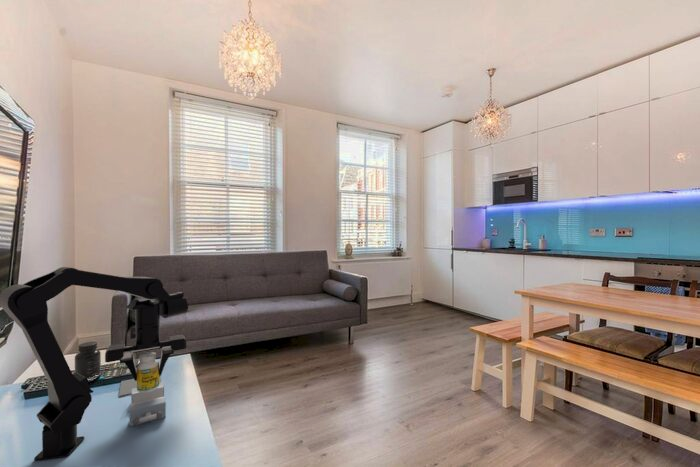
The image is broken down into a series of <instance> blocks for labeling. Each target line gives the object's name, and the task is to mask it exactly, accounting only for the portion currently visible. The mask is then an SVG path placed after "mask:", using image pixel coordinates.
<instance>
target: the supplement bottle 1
mask: <svg viewBox="0 0 700 467" xmlns="http://www.w3.org/2000/svg"><path fill="white" fill-rule="evenodd" d="M97 343H98V342H96V341H88V342H83V343H80V344H78V350H77V351H78V353H77V354H75V355H74V373H76V372H77V373H79V374H81V375H82V376H84V377H86V378H89V377H93V376H95V375H98V374H99V373H100V372H101V373H102V370H101V369H102V368H101V367H102V366H101V365H102V364H101V362H102V360H101V359H102V355H101V354H102V353H101V351H100V350H99V349H98V344H97Z"/></svg>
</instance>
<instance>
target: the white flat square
mask: <svg viewBox="0 0 700 467" xmlns="http://www.w3.org/2000/svg"><path fill="white" fill-rule="evenodd" d="M161 380H162V379H161V376H159V383H161V382H162V381H161ZM133 388H137V381H135V380H134V378H131V379H126V380H121V382H120V386H119V392H118V398H121V397H126V396H131V393H132V389H133Z"/></svg>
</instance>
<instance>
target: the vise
mask: <svg viewBox="0 0 700 467" xmlns="http://www.w3.org/2000/svg"><path fill="white" fill-rule="evenodd" d="M130 396H131V405H129V427H133V426H137V425H140V424H144V423H147V422H148V423H149V422H151V421H155V420H159V419H162V418H166V415H167V412H166V411H167V410H166V408H167V405H166V404H167V403H166V402H167V401H166V397H165V382H164V381H161V383H159V387H158V388H157V389H155V390H153V391H151V392H146V393H140V392H138V391H137V388H133V389H132V393H131V395H130Z"/></svg>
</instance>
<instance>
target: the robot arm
mask: <svg viewBox="0 0 700 467" xmlns="http://www.w3.org/2000/svg"><path fill="white" fill-rule="evenodd" d="M71 286H80V287H85V288H86V287H87V288H95V289H101V290H110V291H118V292H123V293H124V294H128V295H131V296H134V297H139V298H142V299H144V300H139V299H135V298H134V299H132V300H131V301H130V302H129V303H128V305H126V306H125V307H126V309H129V310H132V311H135V313H134V315H135V326H134V327H130V331H129V333H130V334H129V338H130V340H135V344H134V345H129V346H126V343H124V342H123V343H117V344H111V345H109V346H108V347H107V348H106V350H105V352H104V354H105V355H104V362H105V363H111V362H112V363H113V362H118V361H119V363H120V364H123V363H124V365H125V366H126V367H127V369H128V370H129V372H130V374H131V377H132V379H134V380H135V381H137V365H136V361H135V354H136V353H137V354H138V353H142V352H149V351H154V350H159V349H161V352H160V353H161V354H160V360H159V376H160V377H161V376H162V374H163V371H164V368H165V365H166V363H167V362H168V360H169V358H170V355H174V354H175V351H181V350H185V349H187V339H186V336H185V335H184V334H177V335H169V339H166V340H162V341H161V338H160V336H161V334H160V332H161V328H160V325H161V323H160V320H161V317H162V318H164V319H167V318H168V319H169V318H172V317H177V316H181V315H185V314H187V312H188V310H189V303H188V301H187V298H186V297H185V295H184V294H185V293H184V292H182V291H177V292H174V293H169V292H167V290H165V288H164V284H163V282H162V280H161V279H159V278H157V277H148V276H119V275H112V274H111V275H110V274H106V273H99V272H94V271H86V270H81V269H78V268H74V267H69V266H62V267H59V268H56V270H53V271H51V272H50V273H46V274H43V275H42V276H38V277H37V278H34V279H31V280H29V281H27V282H25V283H21V284H19V283H18V284H13V285H10V286H8V287H6V288H4V289H3V290H2V291H0V292H1V293H0V307H1V308H2V310H3V311H4V312H5V313H6V314H7V315H8V317H9V318H10V319H11V320H12V321H14V323H15V324H16V325H17V326H18V327H19V328H20V329H21V330H22V332H23V335H24V337H25V338H26V340H27V343H28V344H29V346H30V349H31V351H32V353H33V354H34V356H35V358H36V360H37V362H38V364H39V367H40V368H41V371H42V372H43V375H44V376H45V377H44V378H46V380H47V395H48V396H47V397H48V402H47V403H46V404H45V405H44V406H43V407H42V408H41V409H40V411H39V412H37V413H36V417H37V419H38V420H39V422H40V423H41V424H43V427H42V432H41V435H42V436H41V437H42V438H41V440H42V441H41V442H42V445H41V446H42V448H41V449H42V450H41V451H40V452H38V453H37V455H36V456H34V458H33V460H34V461H43V460H49V459H50V460H51V459H57V458H58V459H59V458H66V457H68V456H70V455H71V454H72V452H73V451H74V450H75V449H77V447H78V446H79V445H80V444H81V443H82V442H83V441H84V440H85V436H78V425H79V424H81V422H82V420H83V419H82V418H83V417H84V414H85V411H86V409H87V408H89V405H90V403H91V402H92V398H93V397H92V393H93V394H94V390H93V389H91V388H90V385H89V383H88V380H87V378H86V377H84V376H82V375H81V374H79V373H77V372H76V373H75V372H74V373H73V372H72V370H71V368H70V366H69V364H68V362H67V360H66V358H65V355H64V353H63V351H62V349H61V347H60V345H59V343H58V340H57V338H56V336H55V334H54V332H53V330H52V327H51V326H50V324H49V320H48V318H49V316H48V314H49V313H48V312H49V308H48V302H49V301H50V300H52V299H53V298H55V297H58V296H59V294H62V292H64V291H65V290H67V289H68V288H70V287H71ZM152 300H156V301H152Z"/></svg>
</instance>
